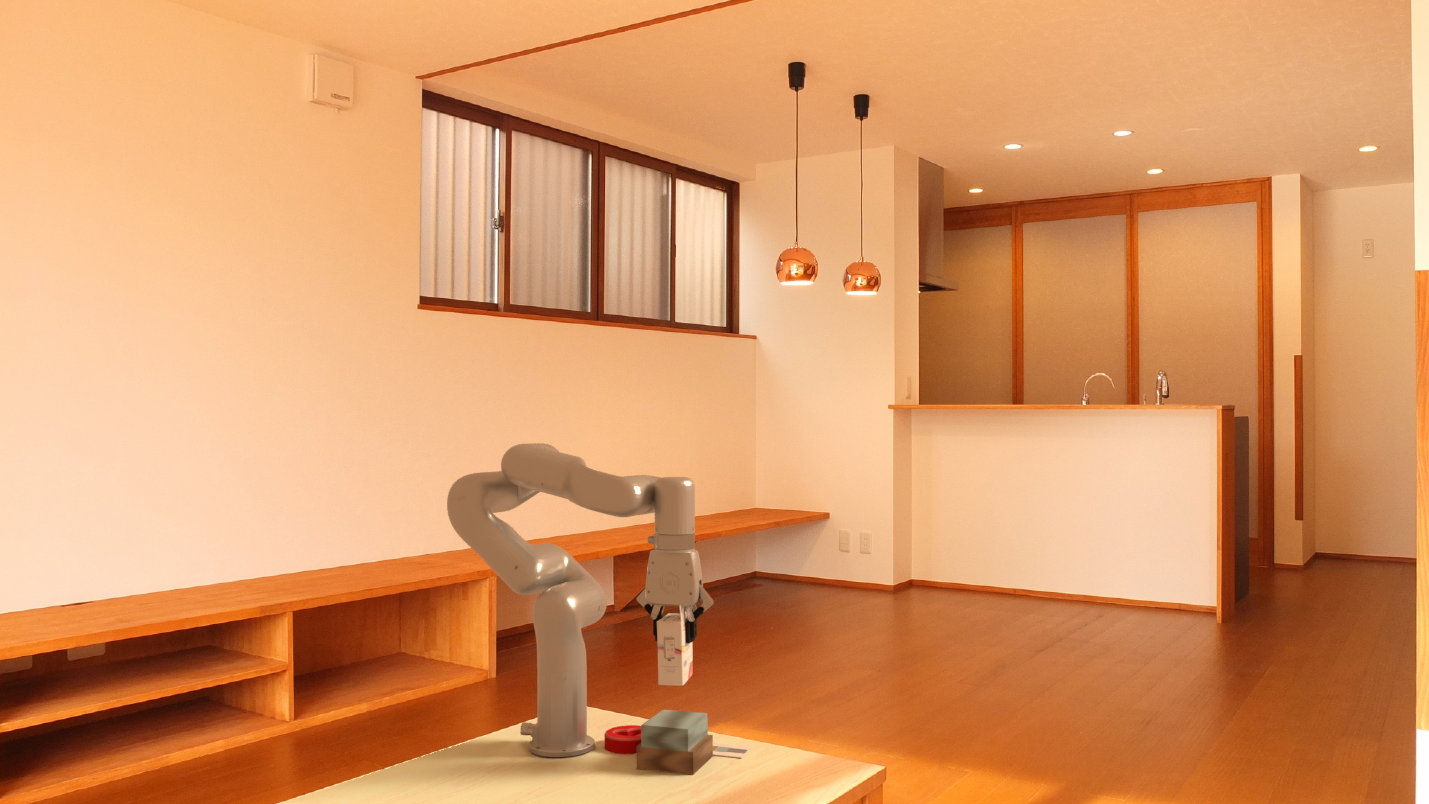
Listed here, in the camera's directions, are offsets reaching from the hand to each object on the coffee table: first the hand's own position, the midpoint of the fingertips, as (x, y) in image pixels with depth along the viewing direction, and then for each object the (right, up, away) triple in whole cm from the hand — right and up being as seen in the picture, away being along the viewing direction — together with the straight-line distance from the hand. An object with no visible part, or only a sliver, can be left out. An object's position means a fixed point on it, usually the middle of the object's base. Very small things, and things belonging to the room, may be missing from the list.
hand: (674, 639), depth 193 cm
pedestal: (0, -23, -1) cm, 23 cm away
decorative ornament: (-9, -23, +9) cm, 27 cm away
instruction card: (+9, -23, +6) cm, 25 cm away
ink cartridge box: (0, -8, 0) cm, 8 cm away
